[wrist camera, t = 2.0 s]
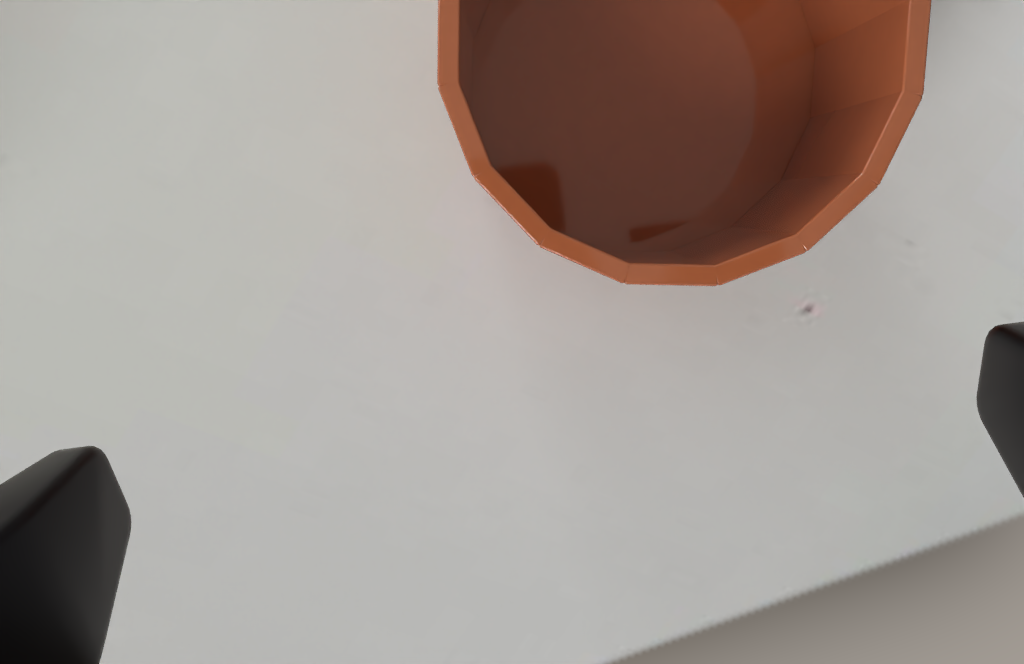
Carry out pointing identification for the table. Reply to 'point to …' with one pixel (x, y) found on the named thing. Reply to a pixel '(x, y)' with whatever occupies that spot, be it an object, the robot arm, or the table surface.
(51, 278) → the table surface
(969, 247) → the table surface
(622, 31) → the cup
